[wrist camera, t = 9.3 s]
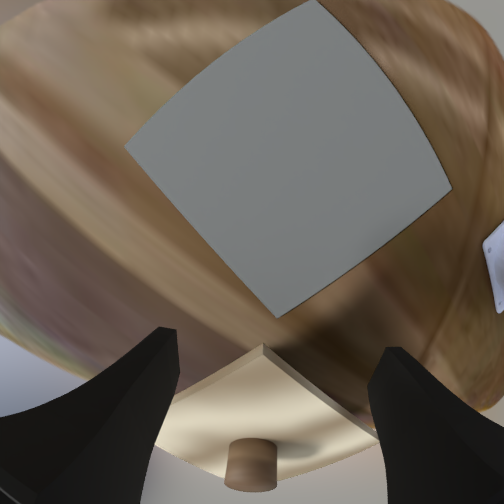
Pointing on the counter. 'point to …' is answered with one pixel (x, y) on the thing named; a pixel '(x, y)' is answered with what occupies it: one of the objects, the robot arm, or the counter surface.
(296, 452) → the lid
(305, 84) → the mat
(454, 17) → the counter surface
